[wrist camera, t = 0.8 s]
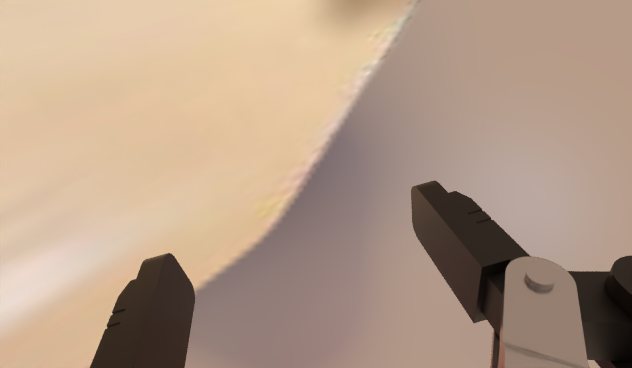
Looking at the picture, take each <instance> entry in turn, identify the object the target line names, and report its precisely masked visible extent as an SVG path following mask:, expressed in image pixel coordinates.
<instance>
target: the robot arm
mask: <svg viewBox="0 0 632 368" xmlns="http://www.w3.org/2000/svg"><path fill="white" fill-rule="evenodd" d="M411 199H412V222H413V228H414V231H415V233H416V236H417V238H418V239H419V241H420V242H421V244H422V246H423V247H424V249H425V250H426V252H427V253H428V255H429V256H430V258H431V259H432V261H433V262H434V264H435V265H436V267H437V268H438V270H439V271H440V273H441V274H442V276H443V277H444V279H445V280H446V282H447V283H448V285H449V286H450V288H451V289H452V291H453V292H454V294H455V295H456V297H457V298H458V300H459V301H460V303H461V304H462V306H463V307H464V309H465V310H466V312H467V313H468V315H469V317H470V318H471V320H472V321H473V323H476V322H479V321H483V320H486V319H487V320H488V322H489V323H490V324H491V326H492V327H493V336H492V351H491V366H490V368H589V365H588V361H587V360H595V361H596V363H597V364H598V365H599V366H600V367H601V368H632V256H625V257H622V258H620V259H618V260H616V261H615V262H614V264H613V266H612V268H611V270H610V272H574V271H566V270H565V269H564V268H562V267H561V266H559V265H558V264H556V263H554V262H552V261H549V260H546V259H543V258H539V257H531V256H529V254H527V253H526V252H525V251H524V250H523V249H522V248H521V247H520V246H519V245H518V244H517V243H516V242H515V241H514V240H513V239H512V238H511V237H510V236H509V235H508V234H507V233H506V232H505V231H504V230H503V229H502V228H501V227H500V226H499V225H498V224H497V223H496V222H495V221H494V220H491V217H489V215H487V214H486V213H485V212H484V211H482V209H481V208H480V207H479V206H478V205H477V204H476V203H475V202H474V201H473V200H472V199H471V198H469V197H467V196H465V195H462V194H461V193H459V192H457V191H454V192H450V193H448V192H447V191H446V190H445V189H444V188H443V187H442V186H441V185H440V184H439V183H438V182H437V181H431V182H427V183H424V184H420V185H417V186H414V187H412V190H411ZM194 304H195V293H194V289H193V286H192V283H191V282H190V280H189V279H188V277H187V275H186V274H185V272H184V271H183V269H182V268H181V266H180V265H179V263H178V262H177V260H176V258H175V257H174V256H173V255H172V254H170V253H168V254H164V255H160V256H157V257H153V258H150V259H146V260H144V261H143V263H142V265H141V268H140V270H139V273H138V276H137V279H135V280H131V281H130V282H129V284H128V285H127V286H126V287H125V289H124V290H123V291H122V293H121V294H120V295H119V297H118V299H117V302H116V304H115V307H114V309H113V312H112V313H113V315H111V317H110V319H109V322H108V324H107V329H105V331H104V334H103V336H102V339H101V341H100V344H99V346H98V349H97V351H96V354H95V356H94V359H93V361H92V364H91V366H90V368H184V367H185V360H186V354H187V348H188V342H189V335H190V328H191V323H192V316H193V310H194Z"/></svg>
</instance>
